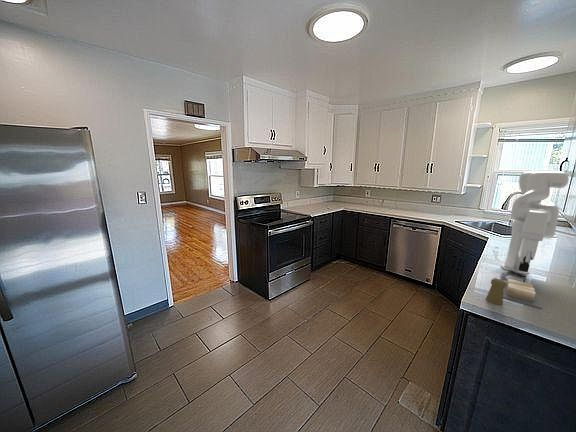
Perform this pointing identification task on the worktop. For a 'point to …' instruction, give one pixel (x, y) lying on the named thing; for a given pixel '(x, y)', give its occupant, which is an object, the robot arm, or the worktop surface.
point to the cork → (496, 292)
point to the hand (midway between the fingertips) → (522, 270)
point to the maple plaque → (520, 290)
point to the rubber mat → (535, 303)
